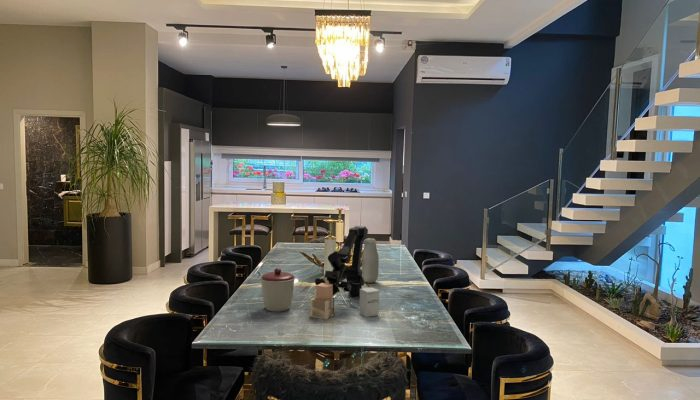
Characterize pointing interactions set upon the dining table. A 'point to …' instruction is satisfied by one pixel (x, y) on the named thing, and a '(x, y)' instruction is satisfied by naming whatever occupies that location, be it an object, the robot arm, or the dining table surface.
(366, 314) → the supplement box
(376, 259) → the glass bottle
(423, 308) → the dining table surface
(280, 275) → the canister
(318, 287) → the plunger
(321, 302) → the sleeve
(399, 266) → the dining table surface
